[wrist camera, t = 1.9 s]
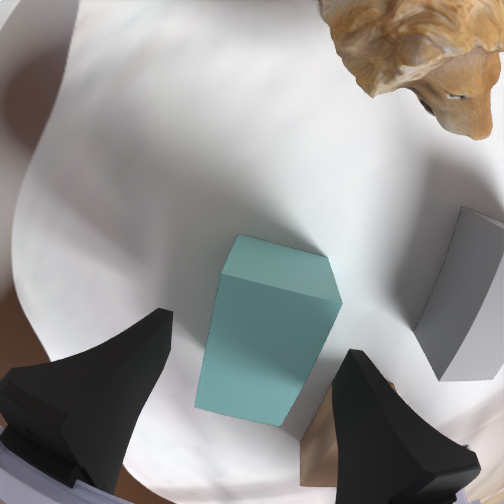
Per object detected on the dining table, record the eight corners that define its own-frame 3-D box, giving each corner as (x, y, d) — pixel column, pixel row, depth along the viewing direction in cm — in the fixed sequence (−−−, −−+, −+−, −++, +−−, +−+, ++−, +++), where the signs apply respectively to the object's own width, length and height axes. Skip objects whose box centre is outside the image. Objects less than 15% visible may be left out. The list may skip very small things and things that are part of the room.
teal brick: (282, 369, 16) (280, 426, 12) (211, 352, 16) (194, 407, 12) (327, 256, 13) (342, 303, 9) (238, 232, 13) (221, 273, 9)
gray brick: (463, 335, 14) (492, 379, 10) (412, 330, 14) (438, 381, 10) (509, 225, 11) (556, 253, 8) (459, 205, 11) (510, 233, 8)
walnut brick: (350, 443, 18) (356, 486, 15) (300, 440, 18) (300, 486, 15) (392, 382, 16) (409, 432, 12) (333, 377, 16) (340, 432, 12)
